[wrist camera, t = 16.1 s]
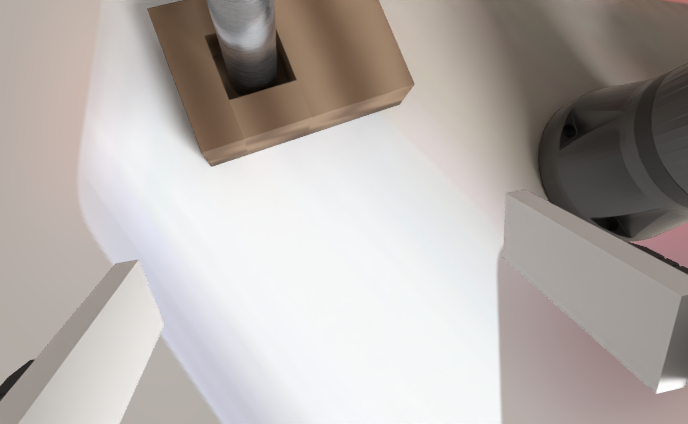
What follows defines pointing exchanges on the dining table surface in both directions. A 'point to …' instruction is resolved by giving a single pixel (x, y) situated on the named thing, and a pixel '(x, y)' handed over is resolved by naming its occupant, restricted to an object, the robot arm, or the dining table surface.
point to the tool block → (284, 73)
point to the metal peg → (247, 42)
